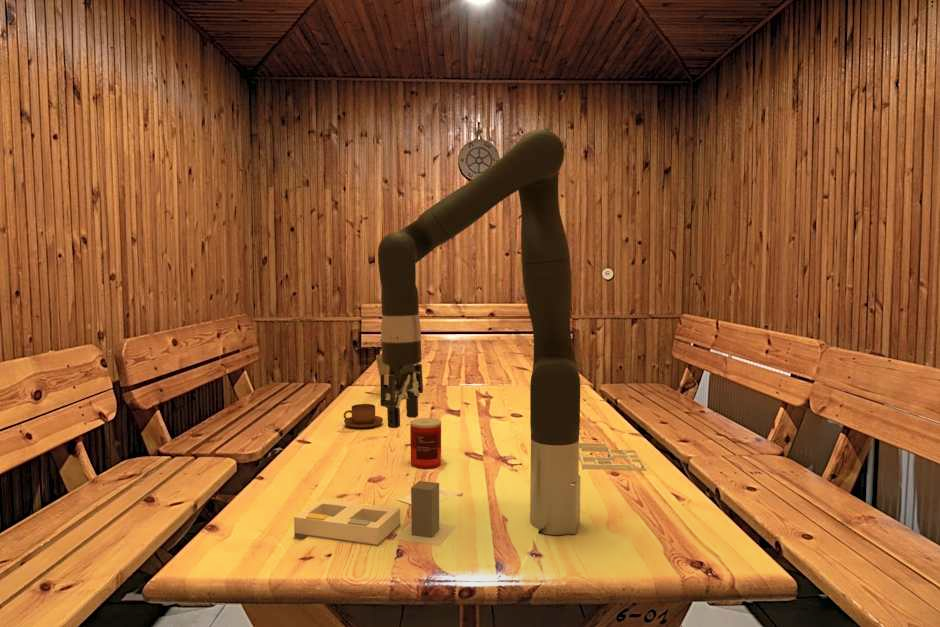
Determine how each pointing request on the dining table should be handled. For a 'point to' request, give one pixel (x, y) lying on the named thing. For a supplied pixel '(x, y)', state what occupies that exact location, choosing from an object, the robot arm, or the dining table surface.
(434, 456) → the canned food
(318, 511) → the socket block
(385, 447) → the dining table surface
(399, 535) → the mat
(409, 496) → the external hard drive
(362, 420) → the cup and saucer
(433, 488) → the plug
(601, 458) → the floor plan model
